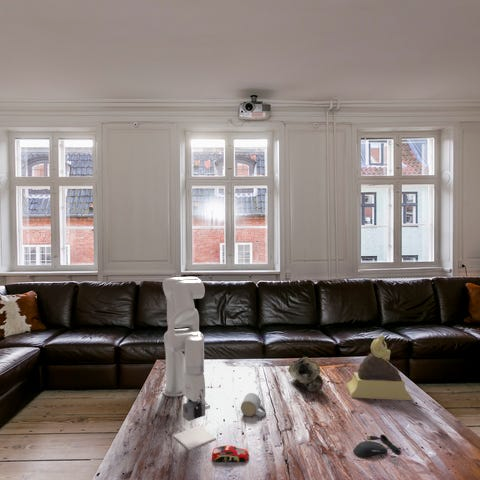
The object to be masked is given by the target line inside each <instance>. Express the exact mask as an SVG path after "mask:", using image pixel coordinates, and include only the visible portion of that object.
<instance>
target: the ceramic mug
mask: <svg viewBox="0 0 480 480" xmlns="http://www.w3.org/2000/svg"><path fill="white" fill-rule="evenodd" d="M261 403H262V401H261V398H260V396H259V395H258V394H256V393H253V392H249V393H247V394H245V396H244V398H243V401H242V402H241V404H240V405H241V406H240V411H241V413H242V414H243V415H245V416H246V417H250V418H251V417H253V416H254V415H256V416H258V417H260V418H262V417H264V416H265V415H266V413H267V412H266V409H265V408H264V406H263V405H262V404H261ZM259 409H260V410H261V412H259V411H258V410H259ZM262 412H263V413H262Z"/></svg>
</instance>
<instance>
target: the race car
mask: <svg viewBox="0 0 480 480" xmlns="http://www.w3.org/2000/svg"><path fill="white" fill-rule="evenodd" d="M211 452H212V453H211V460H212V461H213V462H218V463H222V462H224V463H230V462H231V463H237V462H240V463H245V462H246V461H248V460H249V457H250V453H249V451H248V450H246V449H244V448H239V447H236V446H234V445H222V446H218V447H214V448H213V450H212V451H211Z"/></svg>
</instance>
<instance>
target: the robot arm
mask: <svg viewBox="0 0 480 480" xmlns="http://www.w3.org/2000/svg"><path fill="white" fill-rule="evenodd" d="M162 290H163V293H164V296H165V297H166V321H167V323H166V324H167V330H166V332H165V333H164V334H163V343H164V344H163V345H164V350H165V381H164V384H165V387H164V388H163V389H162V394H163V395H164V396H166V397H172V398H176V397H181V396H184V397H186V403H188V402H191V401H193V402H195V408H194V418H195V419H194V420H196V418H197V419H199V418H202V417H203V416H202V407H203V404H205V403H206V402H207V401H206V399H205V398H206V381H205V374H204V373H205V336H204V334H203V333H202V332H201V331H200V315H199V311H198V309H197V308H195V307H196V306H195V302H194V300H196V299H203V298H204V297H205V293H206V292H205V291H206V290H205V285H204V283H203V281H202V280H201V279H200V278H198V277H196V276H178V277H176V276H175V277H168V278H165V279H164V280H163V281H162ZM183 352H184V353H183ZM198 401H200V403H198V404H197V402H198ZM201 416H202V417H201Z"/></svg>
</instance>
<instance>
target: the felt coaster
mask: <svg viewBox="0 0 480 480" xmlns="http://www.w3.org/2000/svg"><path fill="white" fill-rule="evenodd" d="M173 437H174V438H175V439H176V440H177V441H178V442H179V443H180V444H182V446H184V447H185V448H186V449H187V450H188V451H190V450H193V449H195V448H198V447H200V446H203V445H206V444H208V443H210V442H213V441H216V440H217V438H216V436H215V435H213V434H211V433H210V431H208V430H206V429H205V428H204V427H202V426H201V425H197V426H195V427H191V428H189V429H187V430H186V429H185V430H183V431H181V432H178V433H174V434H173Z"/></svg>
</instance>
